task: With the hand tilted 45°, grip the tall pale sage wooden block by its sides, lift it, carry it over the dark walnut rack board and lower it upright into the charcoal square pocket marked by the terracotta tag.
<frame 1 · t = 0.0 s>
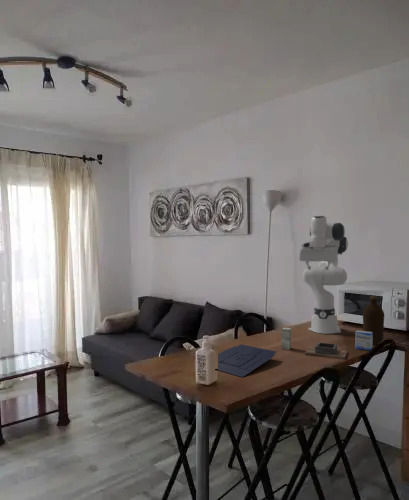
hand: (318, 269, 219), 39 cm above the table, fingers open, 8 cm apart
dark blue flat slab: (240, 364, 179), on the table
peg block: (286, 348, 204), on the table
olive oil: (373, 343, 213), on the table
rack: (326, 353, 193), on the table
medicine box: (363, 349, 202), on the table
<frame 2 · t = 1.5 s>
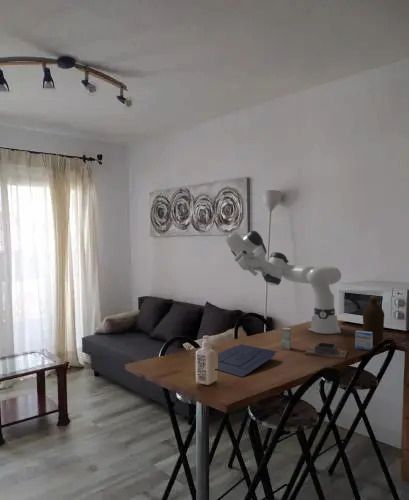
hand: (260, 274, 214), 37 cm above the table, fingers open, 8 cm apart
nothing on the table moved.
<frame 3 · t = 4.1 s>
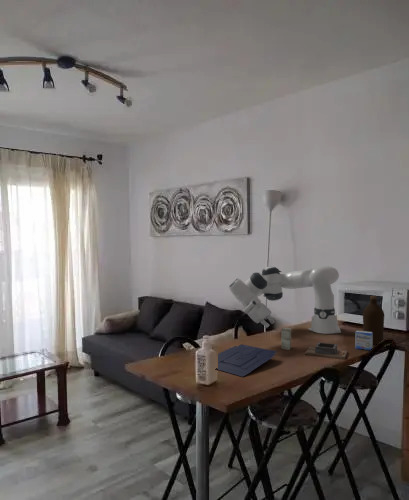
hand: (271, 324, 206), 11 cm above the table, fingers open, 8 cm apart
nothing on the table moved.
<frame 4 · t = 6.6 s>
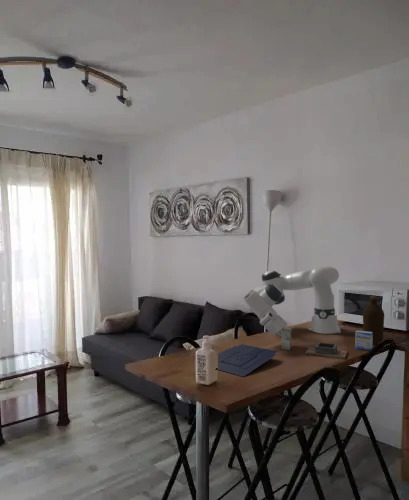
hand: (287, 336, 203), 6 cm above the table, fingers closed on peg block, 4 cm apart
peg block: (286, 348, 204), on the table, touching gripper
everything else where it was.
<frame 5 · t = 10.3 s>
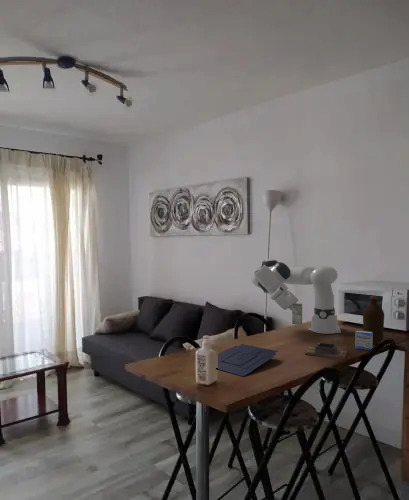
hand: (298, 312, 199), 19 cm above the table, fingers closed on peg block, 4 cm apart
peg block: (297, 323, 199), point 13 cm above the table, touching gripper
everything else where it was.
when the fingers open (8 cm above the table, at t = 14.4 s): peg block drops 1 cm, resting on rack.
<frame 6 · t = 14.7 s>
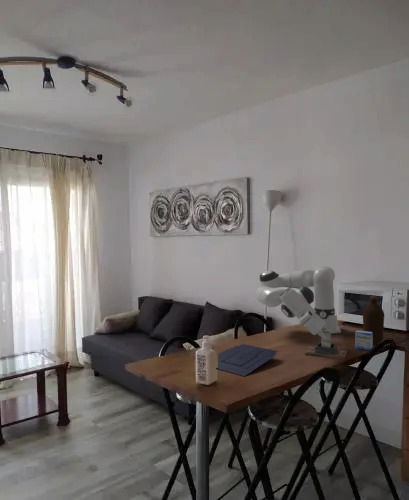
hand: (327, 336, 193), 8 cm above the table, fingers open, 7 cm apart
peg block: (326, 351, 193), point 1 cm above the table, touching rack
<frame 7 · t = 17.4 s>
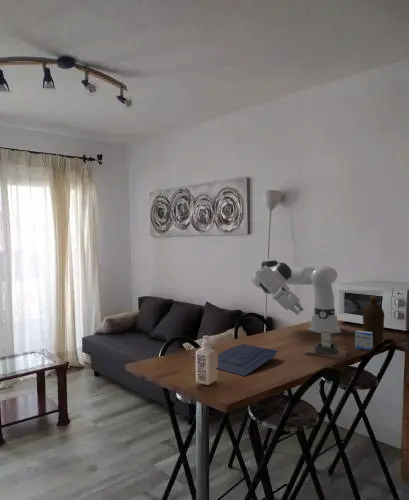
hand: (300, 312, 198), 19 cm above the table, fingers open, 8 cm apart
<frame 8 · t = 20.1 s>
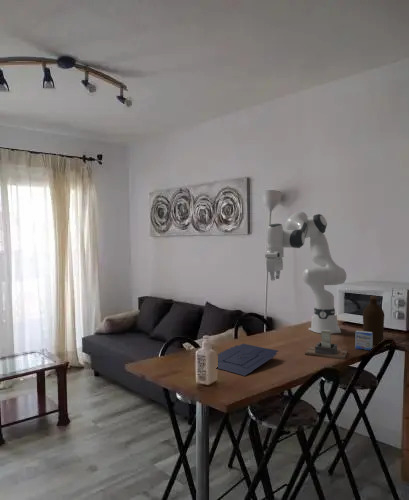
hand: (275, 279, 214), 34 cm above the table, fingers open, 8 cm apart
at the end: peg block 0.2 cm off-centre on the rack, point 1.0 cm above the rack's base; peg block tilted 0°; the gripper is holding nothing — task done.
